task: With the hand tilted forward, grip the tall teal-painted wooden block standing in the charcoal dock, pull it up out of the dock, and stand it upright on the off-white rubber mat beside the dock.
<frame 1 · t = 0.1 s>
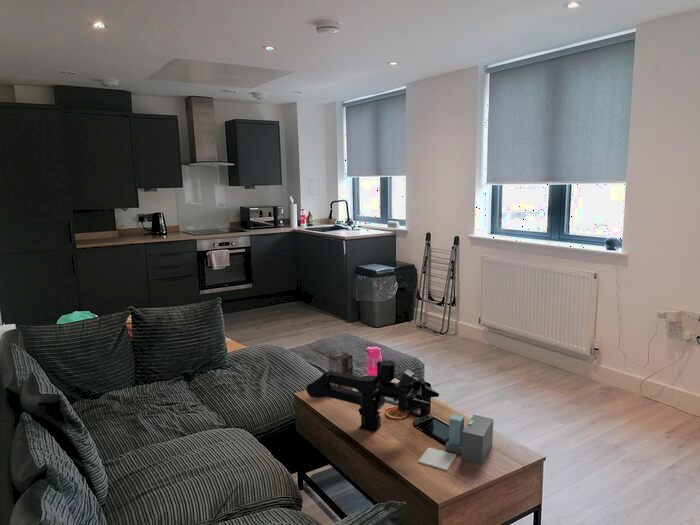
hand: (434, 399, 175), 17 cm above the table, tool horizontal, fingers open, 9 cm apart
key block: (456, 446, 175), on the table
mat: (437, 459, 167), on the table
charging dock: (456, 446, 175), on the table
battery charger: (417, 404, 210), on the table
coffee box: (341, 390, 224), on the table
adjustable wrench: (385, 402, 213), on the table
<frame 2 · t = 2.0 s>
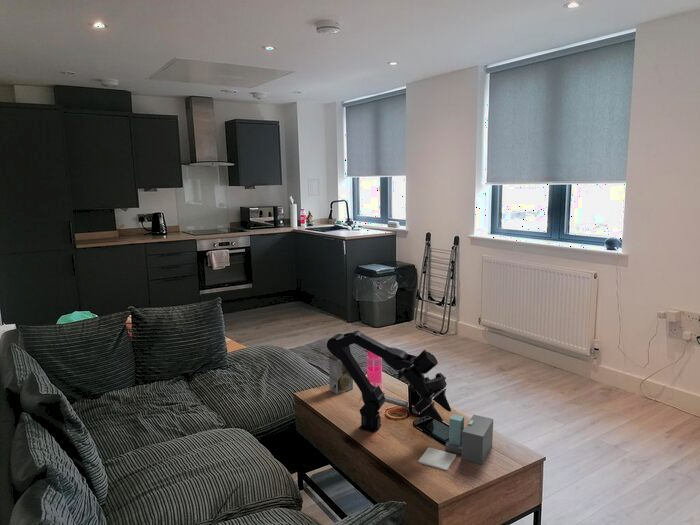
hand: (446, 416, 175), 11 cm above the table, tool tilted 45°, fingers open, 9 cm apart
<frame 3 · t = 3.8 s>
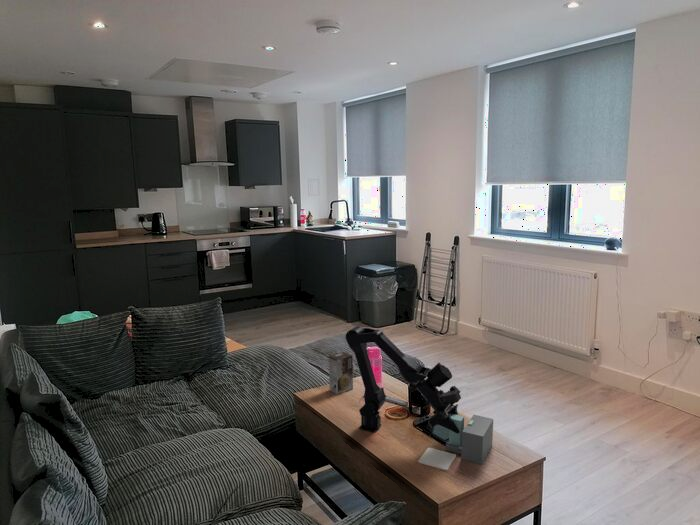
hand: (460, 430, 173), 7 cm above the table, tool tilted 45°, fingers closed on key block, 4 cm apart
key block: (456, 446, 175), on the table, touching gripper
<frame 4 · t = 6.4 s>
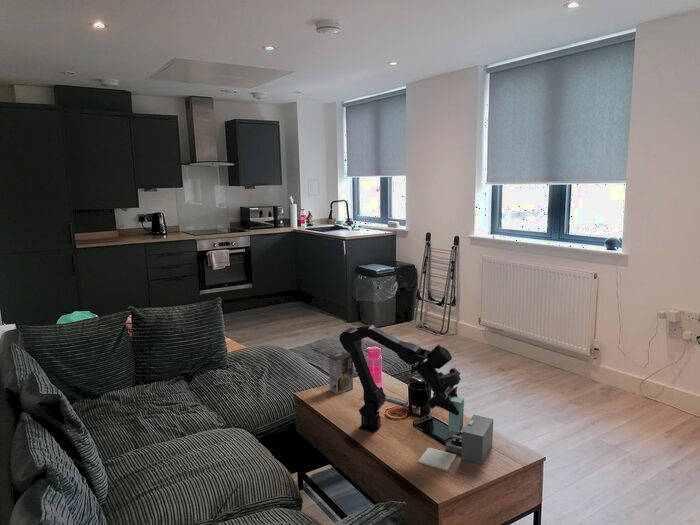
hand: (460, 412, 172), 13 cm above the table, tool tilted 45°, fingers closed on key block, 4 cm apart
key block: (455, 428, 174), point 7 cm above the table, touching gripper
when the fingers open (8 cm above the table, at t = 9.2 s): key block stays where it is, resting on mat.
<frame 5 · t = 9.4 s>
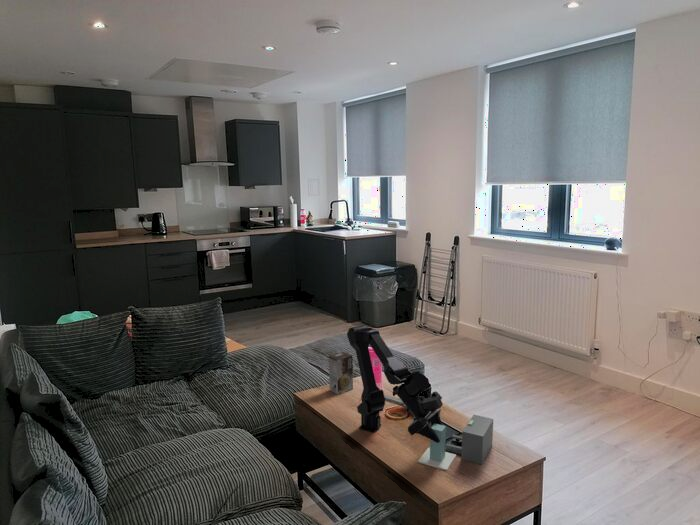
hand: (441, 438, 165), 8 cm above the table, tool tilted 45°, fingers open, 6 cm apart
key block: (437, 457, 167), resting on mat
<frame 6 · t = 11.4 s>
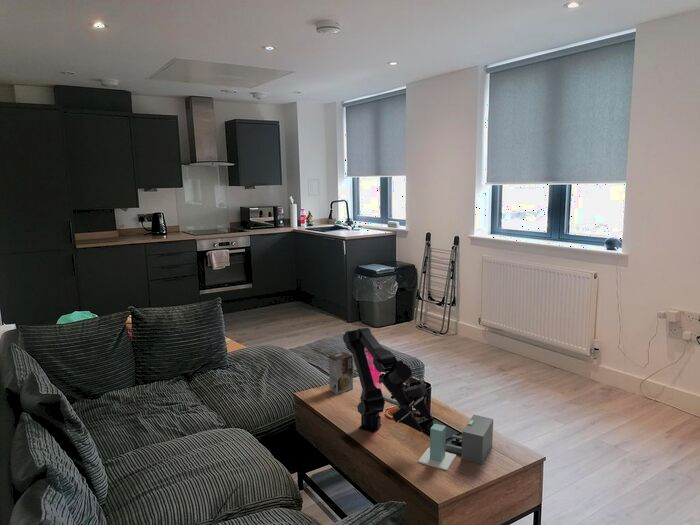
hand: (426, 425, 168), 11 cm above the table, tool tilted 45°, fingers open, 9 cm apart
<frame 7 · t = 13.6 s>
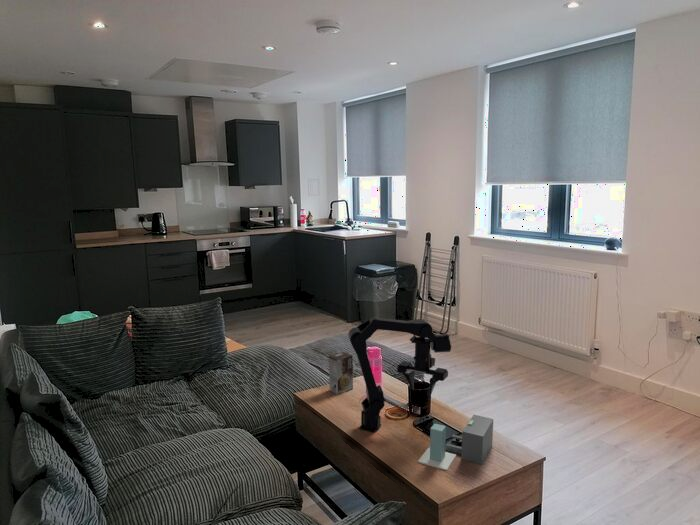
hand: (421, 391, 190), 13 cm above the table, tool pointing down, fingers open, 7 cm apart
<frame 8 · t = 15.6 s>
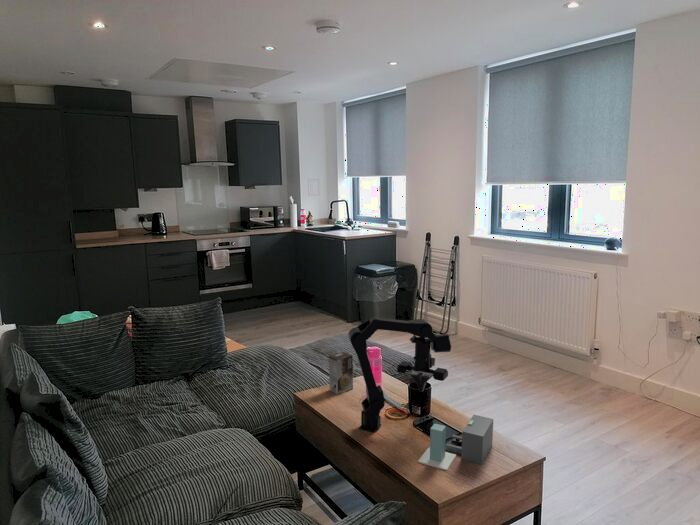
hand: (421, 391, 190), 13 cm above the table, tool pointing down, fingers closed
at the end: key block inside the target area on the mat (0.0 cm from its centre), point 0.5 cm above the mat's base; key block tilted 0°; the gripper is holding nothing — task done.
